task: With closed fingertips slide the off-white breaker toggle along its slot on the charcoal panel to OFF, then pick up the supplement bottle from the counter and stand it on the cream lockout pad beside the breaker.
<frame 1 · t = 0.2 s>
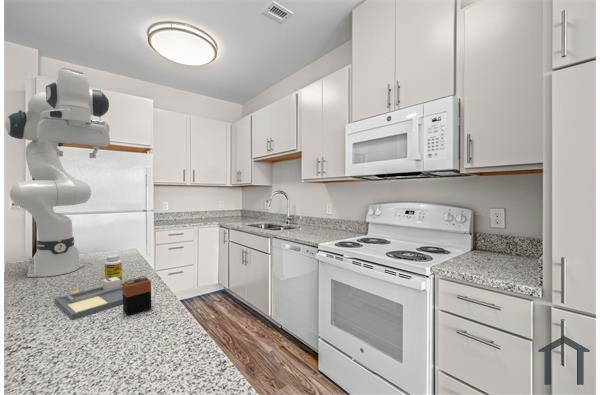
hand: (76, 157, 99), 47 cm above the countertop, fingers open, 8 cm apart
supplement bottle: (113, 282, 110), on the countertop
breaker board: (97, 300, 93), on the countertop
breaker toggle: (111, 284, 98), point 3 cm above the countertop, slide at 0.0 cm, touching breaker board
battery: (137, 310, 87), on the countertop
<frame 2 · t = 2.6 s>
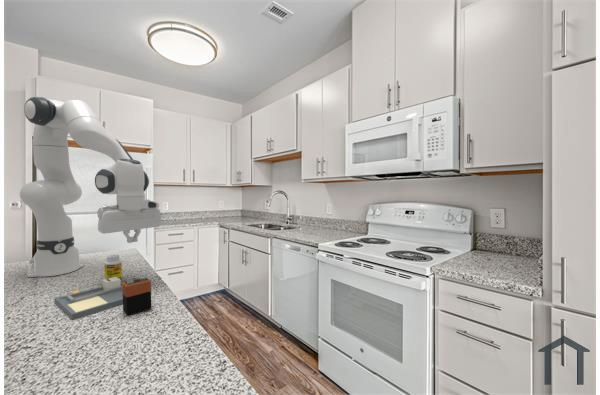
hand: (132, 242, 103), 17 cm above the countertop, fingers closed
nothing on the countertop moved.
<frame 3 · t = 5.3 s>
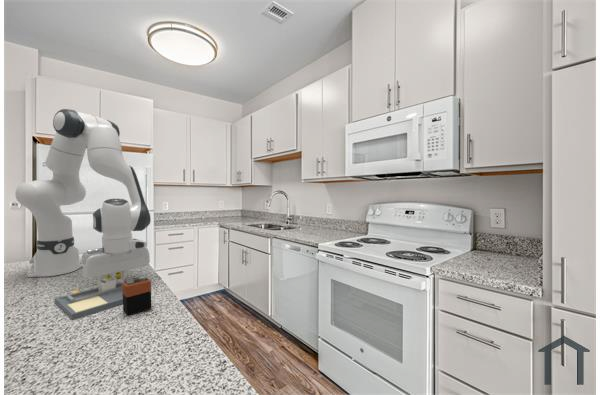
hand: (118, 283, 100), 3 cm above the countertop, fingers closed
breaker toggle: (106, 285, 97), point 3 cm above the countertop, slide at 1.5 cm, touching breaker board, gripper
everything else where it was.
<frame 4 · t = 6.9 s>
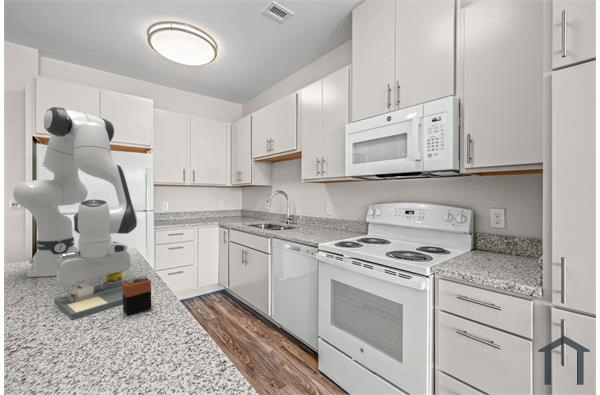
hand: (97, 289, 95), 3 cm above the countertop, fingers closed
breaker toggle: (83, 291, 92), point 3 cm above the countertop, slide at 8.0 cm, touching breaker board, gripper
everything else where it was.
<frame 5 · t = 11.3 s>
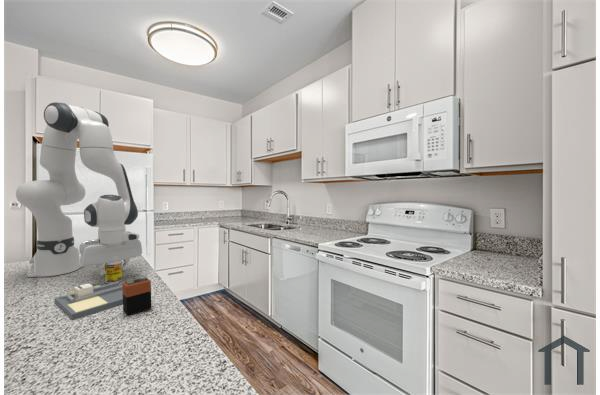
hand: (113, 272, 110), 4 cm above the countertop, fingers closed on supplement bottle, 6 cm apart
supplement bottle: (113, 282, 110), on the countertop, touching gripper
breaker toggle: (83, 291, 92), point 3 cm above the countertop, slide at 8.0 cm, touching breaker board
everything else where it was.
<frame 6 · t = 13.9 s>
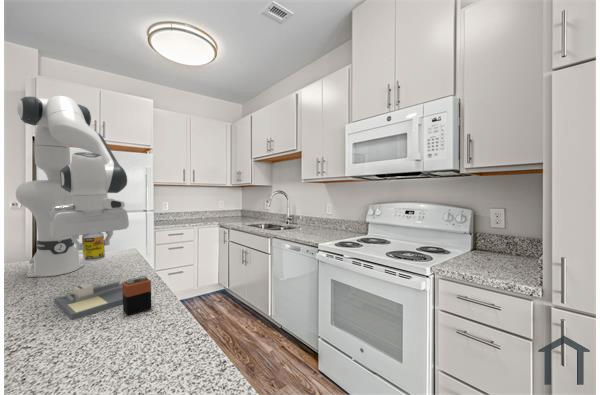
hand: (93, 247, 90), 18 cm above the countertop, fingers closed on supplement bottle, 5 cm apart
supplement bottle: (94, 260, 90), point 14 cm above the countertop, touching gripper
everything else where it was.
when the fingers open (7 cm above the countertop, at t = 16.3 s): supplement bottle drops 1 cm, resting on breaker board.
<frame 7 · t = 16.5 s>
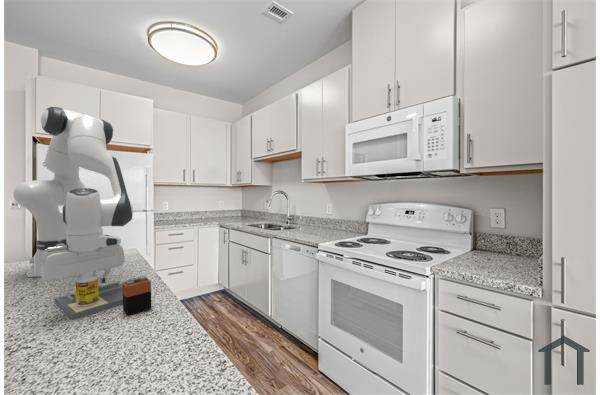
hand: (87, 286, 86), 7 cm above the countertop, fingers open, 7 cm apart
supplement bottle: (88, 304, 87), point 2 cm above the countertop, touching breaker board
everything else where it was.
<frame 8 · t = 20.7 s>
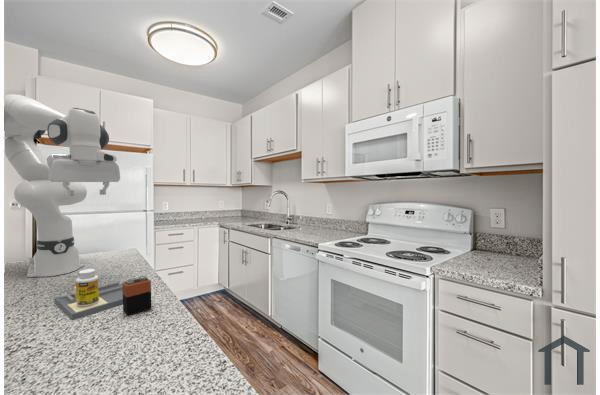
hand: (87, 195, 100), 34 cm above the countertop, fingers open, 8 cm apart
nothing on the countertop moved.
at the end: breaker toggle slide at 8.0 cm; supplement bottle inside the target area (0.1 cm from its centre), point 1.5 cm above the countertop; supplement bottle tilted 0° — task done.
